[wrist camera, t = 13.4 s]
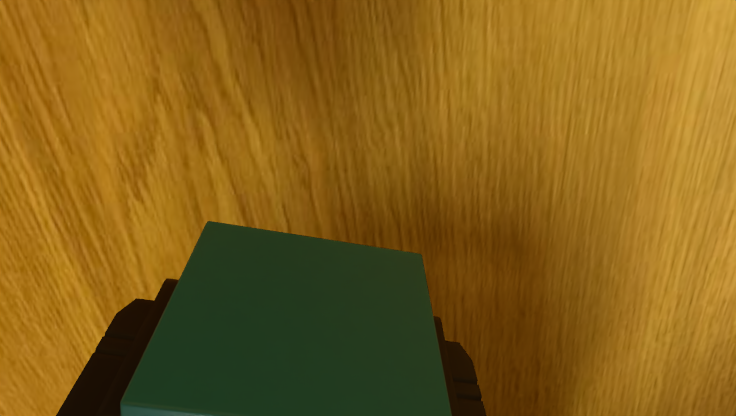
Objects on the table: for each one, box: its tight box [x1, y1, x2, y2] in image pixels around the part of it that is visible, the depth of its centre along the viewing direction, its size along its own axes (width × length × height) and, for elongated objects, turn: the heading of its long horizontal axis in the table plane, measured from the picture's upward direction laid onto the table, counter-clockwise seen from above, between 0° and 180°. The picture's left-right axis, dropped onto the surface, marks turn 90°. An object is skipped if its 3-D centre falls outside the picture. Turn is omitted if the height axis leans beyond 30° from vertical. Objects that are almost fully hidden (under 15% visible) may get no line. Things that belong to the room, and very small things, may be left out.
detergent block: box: [120, 221, 452, 416], centre depth 10 cm, size 5×5×5 cm
